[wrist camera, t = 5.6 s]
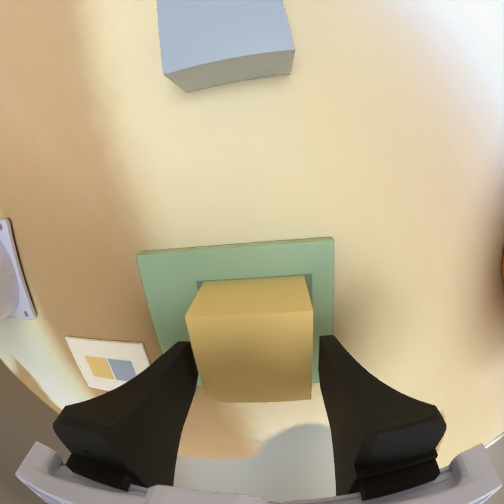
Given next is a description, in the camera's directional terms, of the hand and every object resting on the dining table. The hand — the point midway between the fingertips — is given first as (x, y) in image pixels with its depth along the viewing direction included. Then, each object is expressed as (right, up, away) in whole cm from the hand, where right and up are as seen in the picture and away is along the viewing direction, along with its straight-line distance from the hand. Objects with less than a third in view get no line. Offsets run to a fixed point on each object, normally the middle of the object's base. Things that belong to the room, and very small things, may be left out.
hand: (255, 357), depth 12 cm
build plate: (-1, +1, +3) cm, 3 cm away
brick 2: (0, +1, +2) cm, 3 cm away
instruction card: (-10, -4, +5) cm, 12 cm away
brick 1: (-1, +15, -1) cm, 15 cm away
